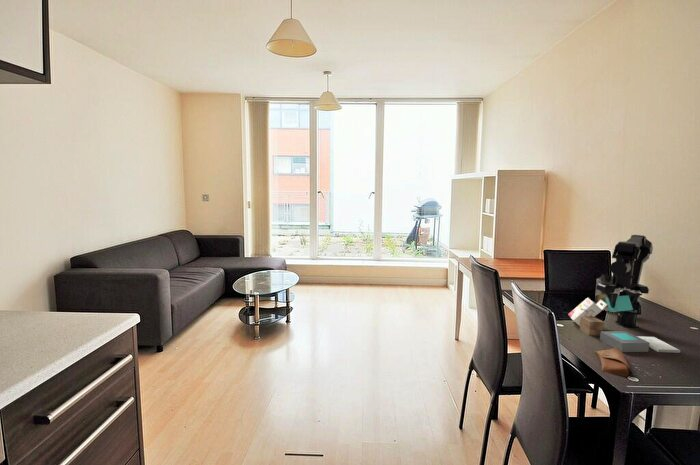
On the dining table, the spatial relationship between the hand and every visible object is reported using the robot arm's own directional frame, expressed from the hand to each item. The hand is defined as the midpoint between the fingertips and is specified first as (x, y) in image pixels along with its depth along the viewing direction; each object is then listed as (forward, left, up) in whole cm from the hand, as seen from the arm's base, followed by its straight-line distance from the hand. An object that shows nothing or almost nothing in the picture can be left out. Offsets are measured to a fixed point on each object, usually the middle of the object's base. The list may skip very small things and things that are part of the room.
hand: (619, 307), depth 155 cm
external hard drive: (-7, +12, -12) cm, 18 cm away
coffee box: (-18, -31, -12) cm, 38 cm away
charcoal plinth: (+7, +12, -12) cm, 18 cm away
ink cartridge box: (+12, -11, -10) cm, 19 cm away
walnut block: (+11, -1, -12) cm, 16 cm away
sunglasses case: (+23, +27, -12) cm, 37 cm away
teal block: (0, 0, -1) cm, 1 cm away
